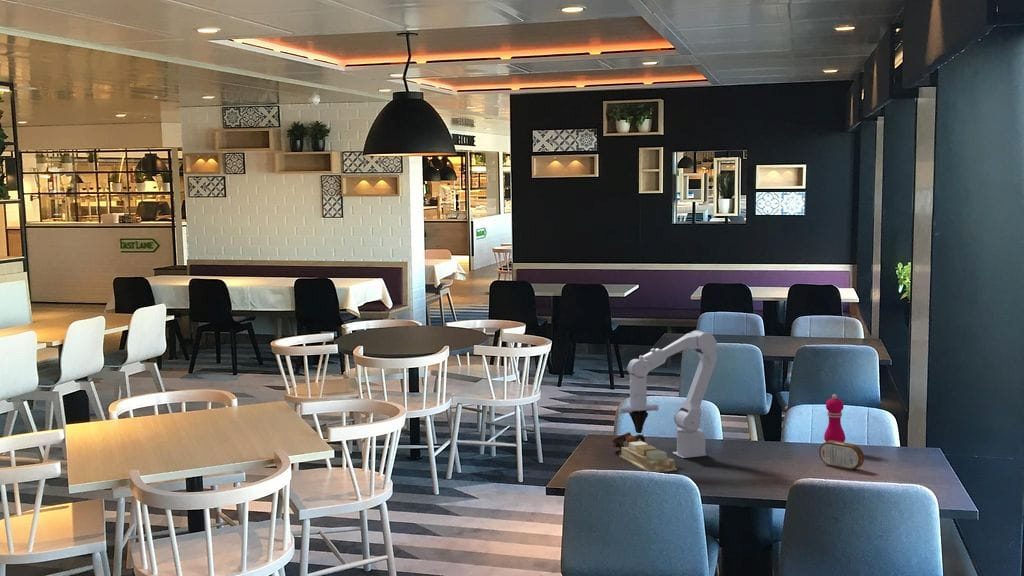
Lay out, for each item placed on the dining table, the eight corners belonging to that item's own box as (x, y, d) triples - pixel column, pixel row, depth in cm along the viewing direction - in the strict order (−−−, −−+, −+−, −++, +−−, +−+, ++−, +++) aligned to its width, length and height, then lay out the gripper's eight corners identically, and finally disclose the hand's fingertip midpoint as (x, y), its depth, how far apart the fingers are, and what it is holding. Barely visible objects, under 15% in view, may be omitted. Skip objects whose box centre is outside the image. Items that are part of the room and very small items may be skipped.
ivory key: (641, 448, 351) (641, 441, 351) (648, 451, 346) (648, 444, 346) (628, 449, 349) (628, 442, 349) (635, 452, 345) (634, 445, 344)
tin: (864, 470, 326) (864, 445, 325) (859, 472, 324) (859, 446, 323) (822, 462, 337) (822, 438, 336) (817, 464, 335) (817, 439, 334)
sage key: (659, 456, 338) (659, 449, 337) (666, 460, 333) (666, 452, 333) (646, 458, 336) (646, 451, 336) (653, 461, 331) (653, 454, 331)
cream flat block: (650, 452, 344) (650, 445, 344) (657, 455, 339) (657, 448, 339) (637, 454, 343) (637, 446, 342) (643, 457, 338) (643, 449, 338)
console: (645, 454, 354) (645, 444, 354) (677, 470, 331) (677, 460, 331) (619, 457, 351) (619, 447, 351) (649, 473, 328) (649, 463, 328)
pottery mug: (625, 458, 351) (615, 437, 353) (616, 464, 359) (606, 444, 361) (653, 446, 355) (643, 425, 358) (643, 452, 364) (633, 432, 366)
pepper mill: (822, 451, 353) (822, 395, 351) (826, 446, 359) (826, 391, 358) (843, 453, 350) (843, 396, 348) (847, 448, 356) (847, 393, 354)
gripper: (624, 397, 340) (624, 436, 341) (662, 394, 344) (662, 432, 345) (615, 394, 346) (616, 432, 347) (653, 390, 351) (653, 428, 352)
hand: (638, 432), depth 347 cm, fingers closed
